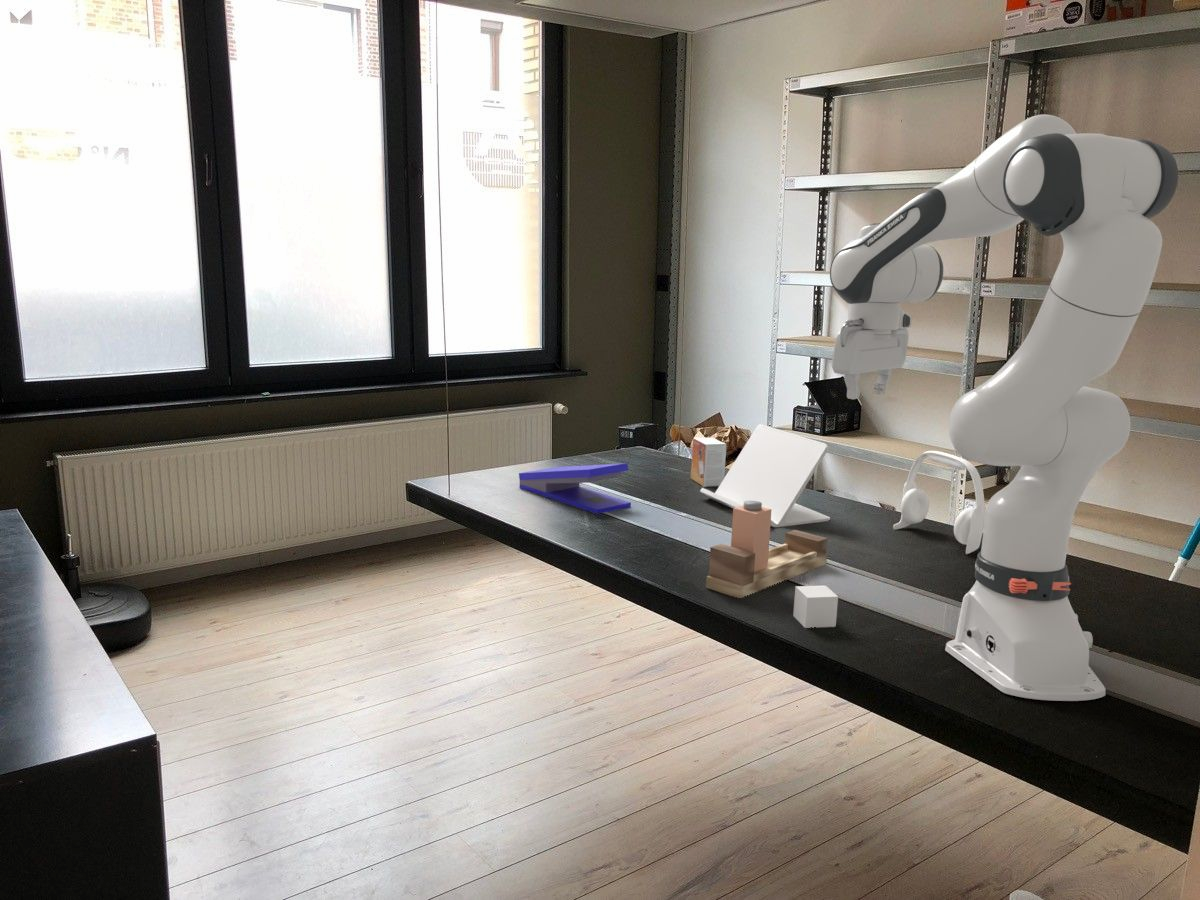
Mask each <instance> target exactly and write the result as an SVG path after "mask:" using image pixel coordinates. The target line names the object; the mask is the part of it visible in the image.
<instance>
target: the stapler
mask: <svg viewBox="0 0 1200 900" xmlns="http://www.w3.org/2000/svg"><path fill="white" fill-rule="evenodd" d="M626 471H629V465H628V462H624V463H623V462H622V463H609V464H608V463H607V464H593V465H591V464H590V465H589V464H588V465H587V464H586V465H573V466H572V465H571V466H557V467H556V466H555V467H549V468H542V469H536V470H531V471H530V470H529V471H523V472H518V477H519V478H518V479H519V488H520V489H522V490H525V491H528V492H531V493H533V494H537V495H540V496H543V497H546V498H549V499H552V500H554V501H558V502H561V503H563V504H567V505H570V506H572V507H576V508H579V509H582V510H584V511H588V512H589V513H594V514H596V515H599V514H602V513H607V512H612V511H617V510H622V509H625V508H626V509H627V508H630V507H631V506H632V503H631V501H628V500H624V499H620V498H617V497H614V496H612V495H608V494H604V493H601V492H598V491H596V490H592V489H590V488H589V489H588V488H585V487H584V486H583V487H582V486H580V484H584V483H585V484H586V483H587V484H588V483H593V482H598V481H604V480H605V481H606V480H609V479H615V478H620V477H621V478H622V472H626Z"/></svg>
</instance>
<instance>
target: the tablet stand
mask: <svg viewBox="0 0 1200 900" xmlns="http://www.w3.org/2000/svg"><path fill="white" fill-rule="evenodd" d="M829 449H830V446H829V445H828V444H827V443H824V442H821V441H818V440H814V439H812V438H808V437H804V436H802V435H798V434H795V433H791V432H788V431H785V430H782V429H778V428H775V427H773V426H768V425H765V424H762V423H760V424H758V425H757V426H756V427H755V429H754V430H753V432H752V433H751V436H750V437H749V439H748V440H747V442H746V443H745V445H744V446H743V447H742V449H741V451H740V453H739V454H738V456H737V457H736V459H735V460H734V462H733V463H732V465H731V466H730V469H729V470H728V472H727V473H726V475H724V479H723V481H722V483H721V484H720V486H717V489H716V490H715V492H713V491H711V490H709V489H706V488H704V487H701V489H700V490H699V492H700V493H701V494H703V495H705V496H706V497H707V498H709V499H711V500H713V501H716V502H717V503H718V504H719V503H720V504H721V505H724V506H726V507H729V508H731V509H733V508H736V507H739V506H743V505H744V502H745V501H758V502H761V503H762V507H765V508H769V509H772V511H771V525H770V527H772V528H780V527H781V528H782V527H788V526H797V525H805V524H815V523H823V522H830V521H831V517H830V516H827V515H825V514H824V513H820V512H819V511H816V510H813V509H811V508H809V507H805V506H804V505H800V504H799V503H796V502H797V501H798V499H799V497H800V496H801V494H802V492H803V491H804V490H805V488H806V487H807V485H808V483H809V482H810V480H811V478H812V477H813V475H814V474H815V472H816V470H817V468H818V467H819V466H820V464H821V462H822V460H823V459H824V457H826V455H827V453H828V452H829ZM829 520H830V521H829Z"/></svg>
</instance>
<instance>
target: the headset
mask: <svg viewBox="0 0 1200 900" xmlns="http://www.w3.org/2000/svg"><path fill="white" fill-rule="evenodd" d="M927 458H928V459H929V460H930V461H932V462H935V463H939V464H942V465H945V466H949V467H952V468H955V469H957V470H959V471H964V470H967V471H968V473H969V474H970V477H971V479H972V482H973V488H974V494H975V495H974V496H975V507H971V506H970V507H967V508H965V509H963V510H962V511H960V513H958V516H957V517H956V519H955V521H954V525H953V534H954V537H955V539H956V541H958V542H959V543H960V544H962V545H966V547H965V555H968V554H971V553H973V552H975V551H977V550H978V549H979V548H980V545H981V543H982V538H983V530H984V521H985V512H986V507H987V506H985V495H984V488H983V482H982V480H981V475H980V473H979V471H978V469H977V468H976V466H974V465H973V464H972V463H971V461H969V460H966V459H964V458H963V457H961V456H960V457H959V456H957V455H955V454H950V453H946V452H943V451H939V450H928V451H924V452H923V453H921V454H918V456H917V457H916V458H915V460H914V461H913V463H912V466H911V468H910V470H909V473H908V476H907V479H906V481H905V483H904V485H903V489H902V499H901V503H900V504H901V505H900V511H901V516H900V521H899V522H897V523H895V524H893V526H892V529H893V530H899V529H904V528H906V527H908V526H910V525H913V524H920V523H922V522H923V520H925V518H926V517H927V515H928V513H929V509H930V500H929V499H930V498H929V495H928V494H927V493H926V492H925V490H923V489H921V488H919V487H917V484H916V483H915V481H916V477H917V474H918V471H919V469H920V466H921V464H922V463H923V462H924V460H925V459H927Z"/></svg>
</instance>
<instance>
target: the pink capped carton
mask: <svg viewBox="0 0 1200 900" xmlns="http://www.w3.org/2000/svg"><path fill="white" fill-rule="evenodd" d="M732 510H733V511H732V523H731V524H732V526H731V537H730V538H731V539H730V541H731V542H730V546H731V547H734V548H738V549H741V550H745V551H748V552H752V553H755V566H754V574H755V573H757V572H760V571H763V570H765V569H767V568H768V554H769V549H770V539H771V538H770V537H771V526H770V525H771V511H772V509H769V508H765V507H762V503H761V502H758V501H745V502H744V505H743V506H739V507H736V508H732Z"/></svg>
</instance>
